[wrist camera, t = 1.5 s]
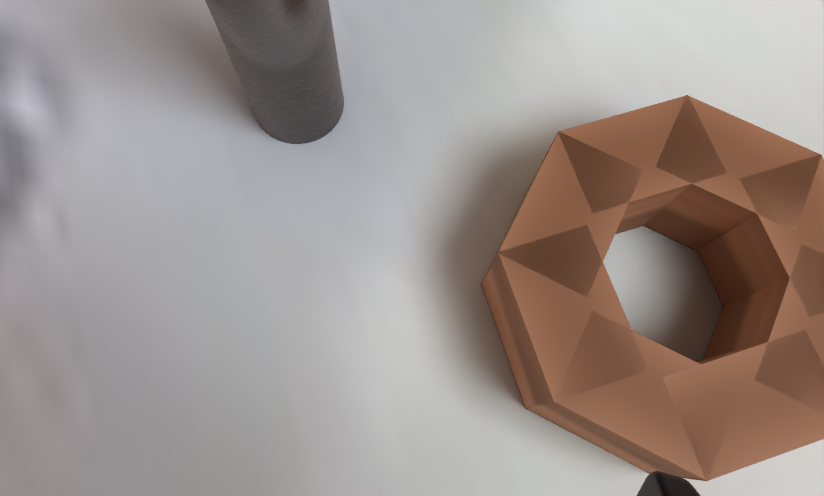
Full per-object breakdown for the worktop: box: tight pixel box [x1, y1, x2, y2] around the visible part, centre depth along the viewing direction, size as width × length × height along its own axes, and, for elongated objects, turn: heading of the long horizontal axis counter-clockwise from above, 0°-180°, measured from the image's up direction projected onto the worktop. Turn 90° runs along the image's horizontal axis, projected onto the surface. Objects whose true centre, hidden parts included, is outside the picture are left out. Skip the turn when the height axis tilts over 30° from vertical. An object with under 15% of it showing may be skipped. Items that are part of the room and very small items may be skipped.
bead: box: [481, 95, 824, 481], centre depth 21 cm, size 11×11×4 cm
